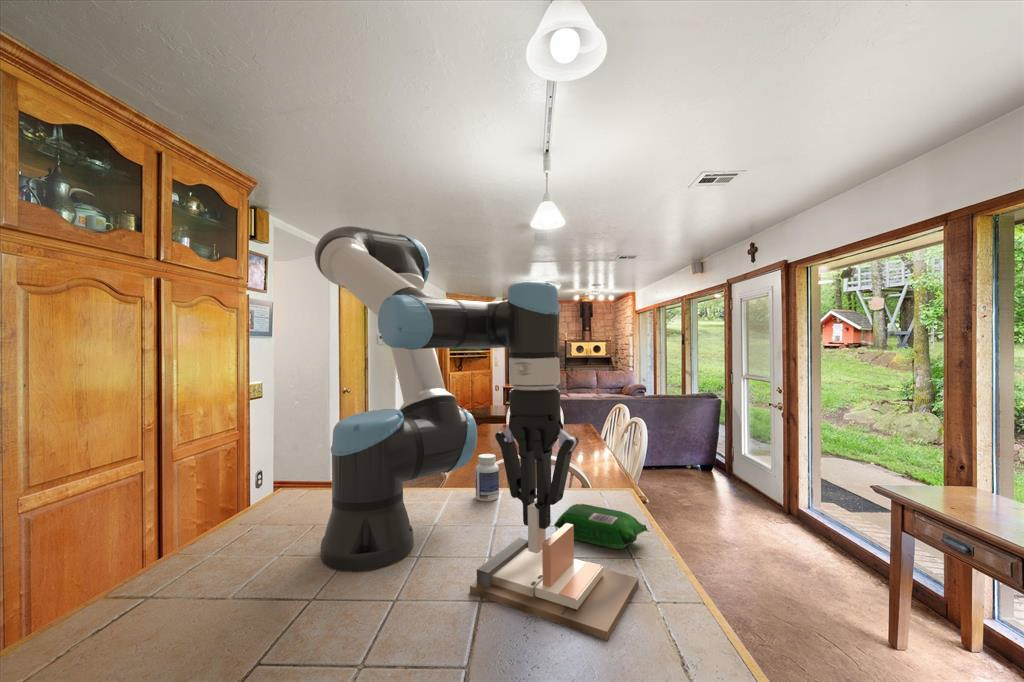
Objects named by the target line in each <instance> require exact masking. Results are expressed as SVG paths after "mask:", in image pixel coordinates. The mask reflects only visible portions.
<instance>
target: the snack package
mask: <svg viewBox="0 0 1024 682" xmlns="http://www.w3.org/2000/svg"><path fill="white" fill-rule="evenodd" d="M566 523H569V524H573V525H574V540H575V541H580V542H585V543H588V544H592V545H597V546H600V547H607V548H610V549H615V550H622V549H624V548H625V547H626V546H627V545H629V544H633V543H634V542H635V541H636V540H637V538H638V537H637V536H638V535H641V534H642V533H643V532H648V533H649V532H650V530H648V528H647V525H646V524H642V523H641V522H640V521H638V519H637V518H635V517H634V516H633V515H632V514H629V513H627V512H625V511H621V510H616V509H610V508H606V507H601V506H596V505H592V504H586V503H585V504H584V503H576V504H573V505H571V506H569V507H568V508H567V509H566V510H564V511H563V513H562V514H561V515H560V516H559V517H558V519H556V521H555V523H554V524H553V526H554V527H555V528H558V530H559V529H560V528H561V527H562V526H563V525H564V524H566Z"/></svg>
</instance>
